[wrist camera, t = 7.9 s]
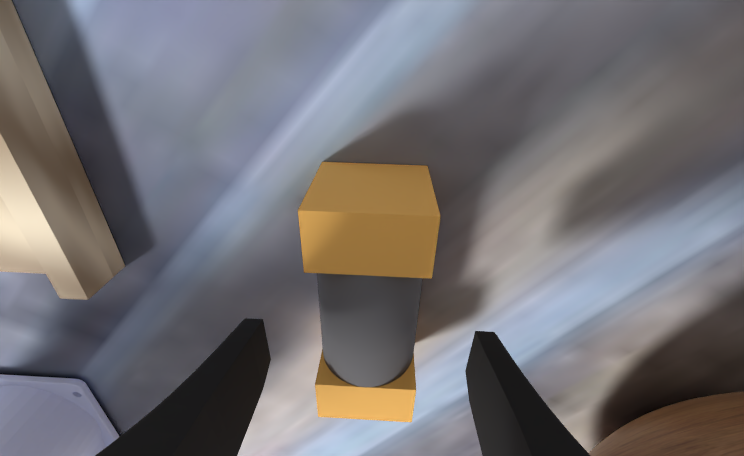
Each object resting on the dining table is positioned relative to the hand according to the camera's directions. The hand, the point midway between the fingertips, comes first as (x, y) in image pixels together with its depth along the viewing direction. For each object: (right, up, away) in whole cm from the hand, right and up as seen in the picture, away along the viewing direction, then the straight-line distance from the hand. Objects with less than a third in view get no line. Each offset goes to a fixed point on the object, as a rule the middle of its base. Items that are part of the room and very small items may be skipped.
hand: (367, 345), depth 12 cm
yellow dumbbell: (0, +2, +4) cm, 4 cm away
